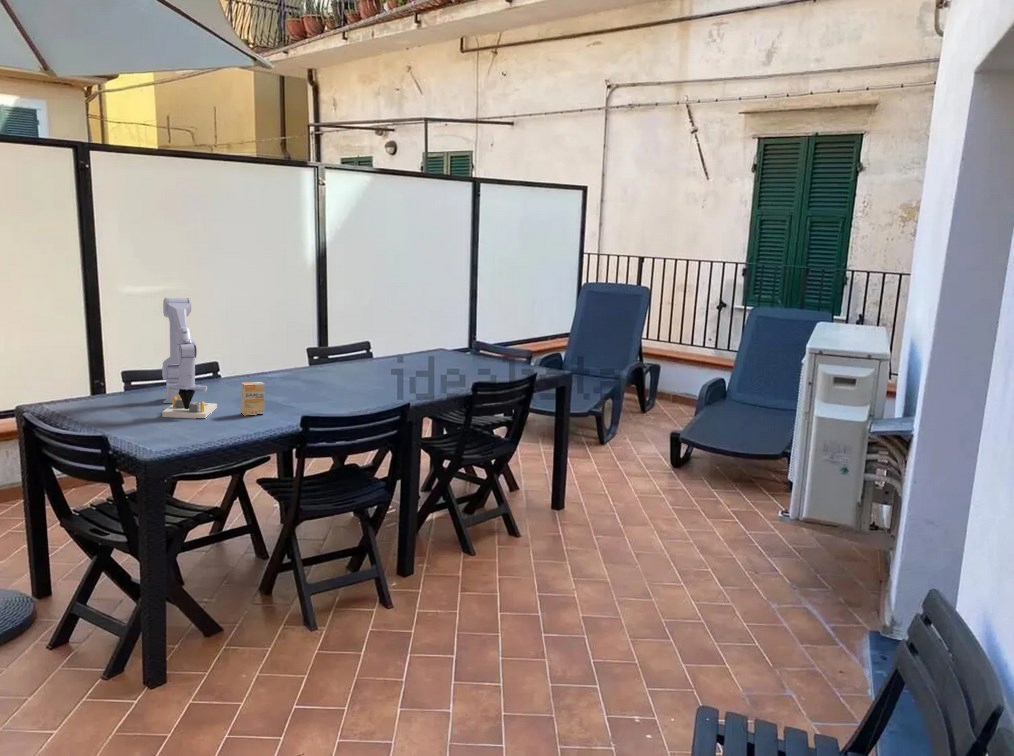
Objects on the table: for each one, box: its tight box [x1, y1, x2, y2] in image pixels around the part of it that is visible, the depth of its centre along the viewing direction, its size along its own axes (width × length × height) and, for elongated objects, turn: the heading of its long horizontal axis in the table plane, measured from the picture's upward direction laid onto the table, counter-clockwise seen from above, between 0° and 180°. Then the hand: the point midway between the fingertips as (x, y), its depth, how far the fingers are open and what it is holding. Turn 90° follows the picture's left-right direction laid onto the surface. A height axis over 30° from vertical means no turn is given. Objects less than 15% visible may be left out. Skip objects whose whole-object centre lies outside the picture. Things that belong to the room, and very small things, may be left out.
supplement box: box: [239, 381, 266, 416], centre depth 301 cm, size 8×5×13 cm, turn 126°
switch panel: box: [161, 394, 218, 419], centre depth 298 cm, size 17×16×6 cm
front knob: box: [189, 401, 200, 412], centre depth 292 cm, size 3×3×3 cm
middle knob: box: [176, 398, 184, 408], centre depth 297 cm, size 3×3×3 cm
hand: (186, 408), depth 292 cm, fingers closed
